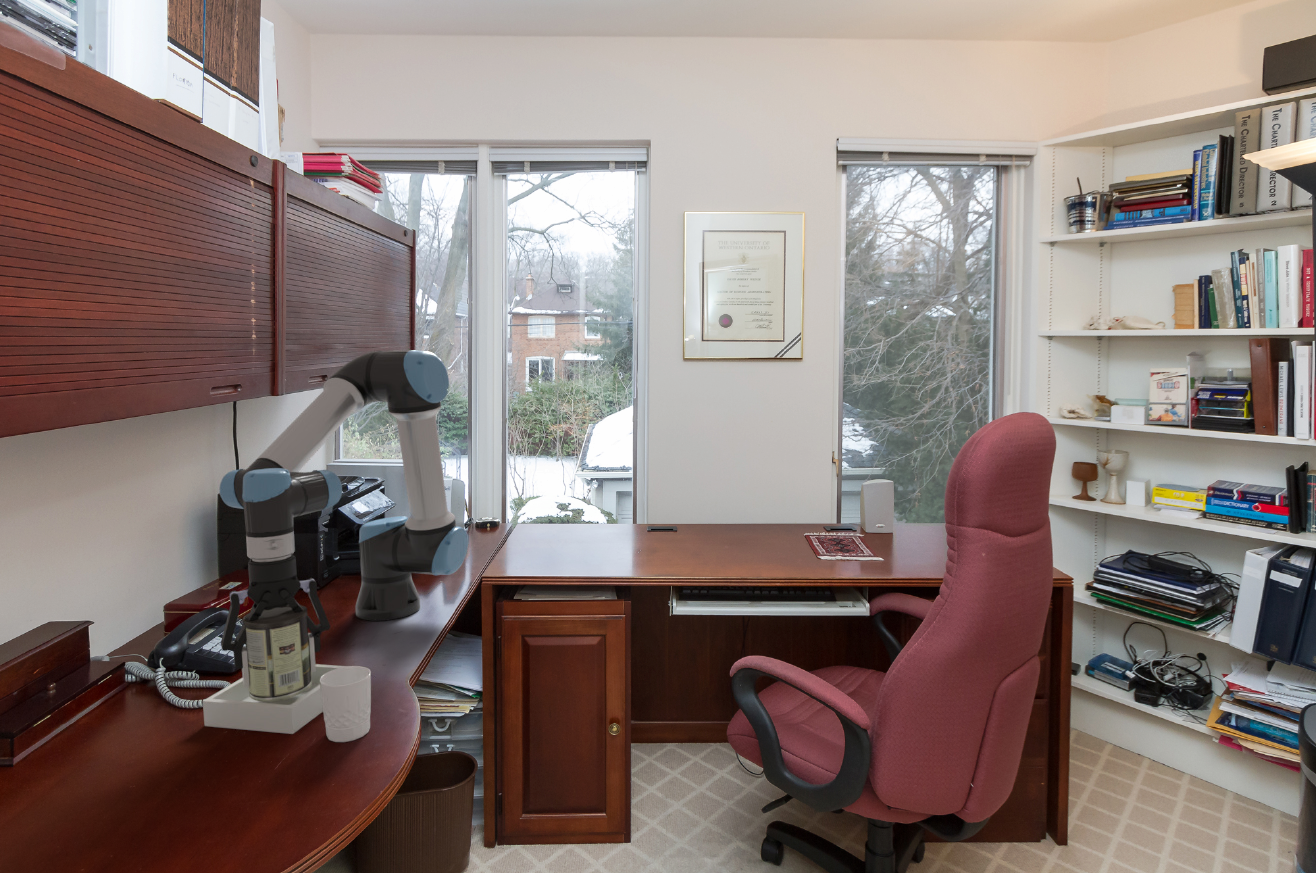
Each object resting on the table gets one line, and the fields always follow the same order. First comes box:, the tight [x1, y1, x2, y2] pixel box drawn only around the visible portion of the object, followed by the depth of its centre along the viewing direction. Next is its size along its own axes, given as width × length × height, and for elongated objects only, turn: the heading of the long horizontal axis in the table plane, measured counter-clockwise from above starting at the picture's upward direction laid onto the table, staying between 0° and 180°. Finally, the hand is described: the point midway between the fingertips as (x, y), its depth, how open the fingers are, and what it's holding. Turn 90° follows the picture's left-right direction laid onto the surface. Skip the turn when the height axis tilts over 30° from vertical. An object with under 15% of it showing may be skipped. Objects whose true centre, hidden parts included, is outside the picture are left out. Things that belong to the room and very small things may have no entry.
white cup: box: [320, 665, 372, 743], centre depth 125 cm, size 8×8×10 cm
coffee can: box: [242, 604, 312, 701], centre depth 133 cm, size 10×10×14 cm
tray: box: [202, 663, 349, 735], centre depth 134 cm, size 17×17×4 cm
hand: (279, 676), depth 134 cm, fingers closed on coffee can, 10 cm apart
